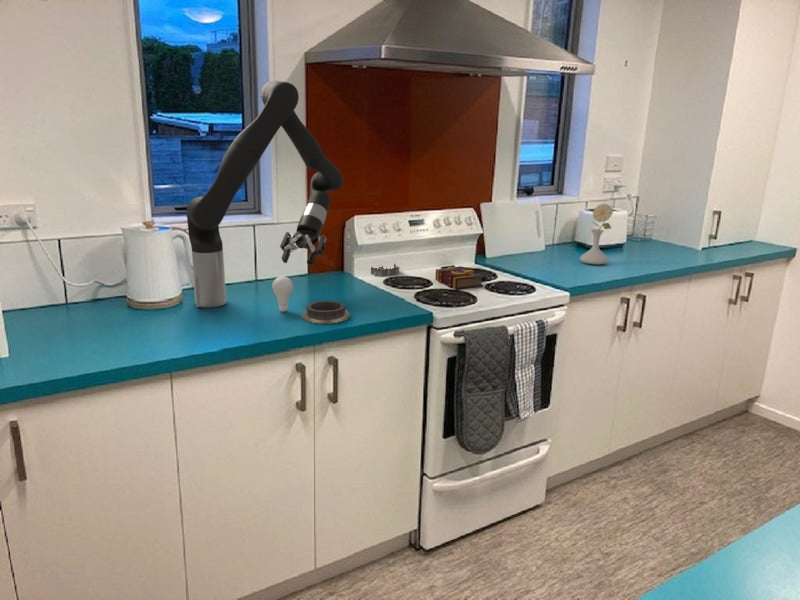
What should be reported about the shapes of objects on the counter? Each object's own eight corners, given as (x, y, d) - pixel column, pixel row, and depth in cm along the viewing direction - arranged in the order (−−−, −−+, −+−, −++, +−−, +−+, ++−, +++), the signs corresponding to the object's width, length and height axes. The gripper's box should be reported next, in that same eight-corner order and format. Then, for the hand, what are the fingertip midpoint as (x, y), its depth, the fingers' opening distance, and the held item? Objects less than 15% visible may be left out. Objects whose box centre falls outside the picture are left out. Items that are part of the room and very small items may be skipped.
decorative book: (455, 291, 221) (456, 277, 220) (433, 280, 235) (433, 266, 233) (483, 287, 226) (484, 274, 224) (459, 277, 240) (460, 264, 238)
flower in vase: (573, 261, 266) (579, 201, 259) (595, 259, 271) (601, 200, 264) (595, 268, 255) (601, 205, 248) (617, 266, 259) (624, 204, 252)
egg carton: (393, 271, 247) (393, 260, 246) (401, 275, 241) (401, 264, 240) (367, 273, 243) (368, 262, 242) (375, 277, 237) (375, 267, 235)
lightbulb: (269, 312, 194) (267, 277, 191) (281, 307, 199) (280, 273, 196) (285, 315, 191) (284, 280, 188) (297, 310, 196) (296, 275, 193)
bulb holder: (308, 326, 182) (307, 315, 181) (297, 312, 195) (297, 301, 194) (355, 321, 187) (355, 310, 186) (342, 307, 199) (342, 297, 198)
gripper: (288, 212, 206) (271, 254, 199) (328, 215, 201) (312, 258, 194) (296, 226, 212) (280, 267, 205) (335, 229, 208) (321, 271, 200)
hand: (296, 263), depth 199 cm, fingers open, 8 cm apart
